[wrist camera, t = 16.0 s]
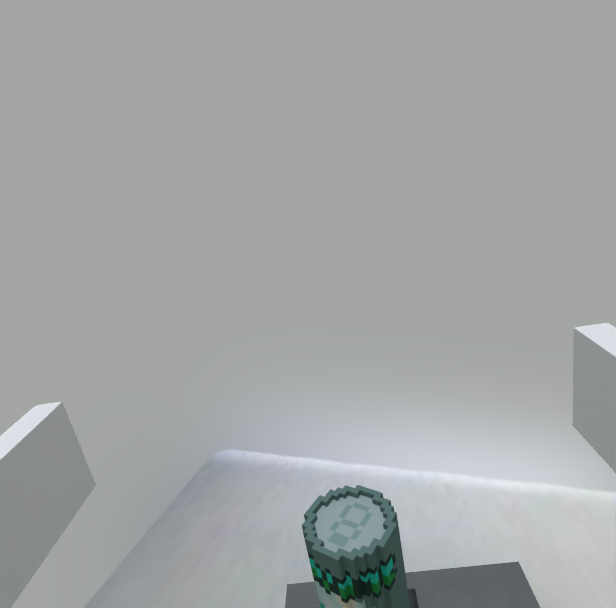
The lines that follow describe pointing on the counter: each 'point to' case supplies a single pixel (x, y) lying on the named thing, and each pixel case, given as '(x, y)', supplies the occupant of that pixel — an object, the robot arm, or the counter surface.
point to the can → (355, 550)
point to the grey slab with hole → (448, 588)
